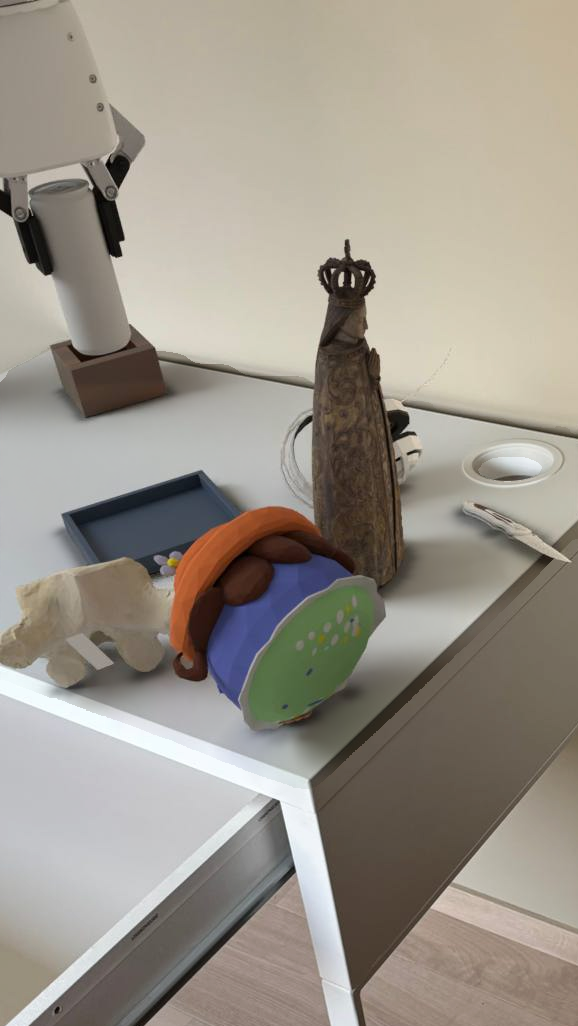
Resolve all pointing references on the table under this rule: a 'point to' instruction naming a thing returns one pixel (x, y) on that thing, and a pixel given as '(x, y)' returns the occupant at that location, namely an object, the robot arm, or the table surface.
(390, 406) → the headphones
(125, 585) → the decorative object
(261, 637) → the toy
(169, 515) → the tray
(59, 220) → the beverage can
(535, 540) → the pocket knife
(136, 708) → the table surface
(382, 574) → the statue
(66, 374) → the can holder
